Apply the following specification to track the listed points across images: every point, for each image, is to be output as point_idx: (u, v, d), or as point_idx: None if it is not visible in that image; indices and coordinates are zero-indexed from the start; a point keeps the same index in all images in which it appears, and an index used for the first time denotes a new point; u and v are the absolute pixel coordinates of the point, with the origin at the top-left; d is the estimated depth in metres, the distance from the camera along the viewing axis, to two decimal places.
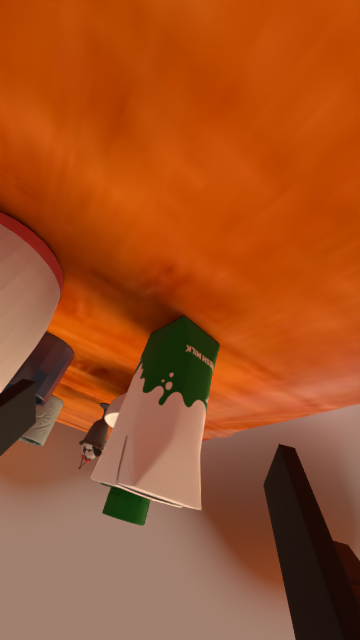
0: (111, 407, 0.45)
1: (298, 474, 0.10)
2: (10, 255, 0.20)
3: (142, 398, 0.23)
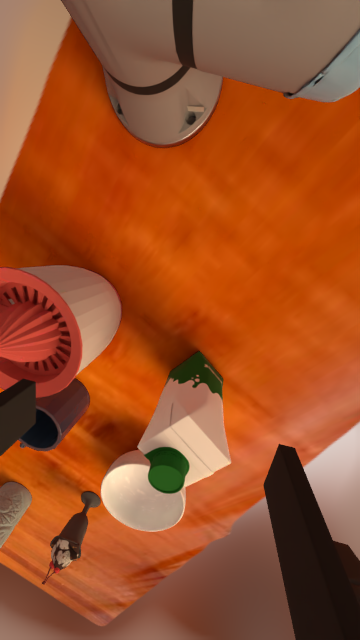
0: (114, 464, 0.45)
1: (298, 474, 0.10)
2: (110, 290, 0.36)
3: (180, 386, 0.32)
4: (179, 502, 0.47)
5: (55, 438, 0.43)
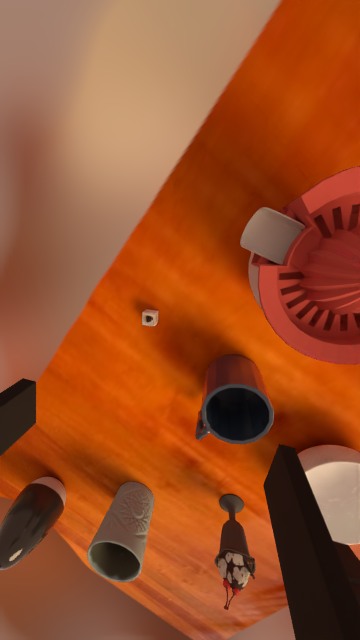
0: (306, 462, 0.37)
1: (298, 474, 0.10)
2: None
3: None
4: None
5: (245, 428, 0.35)
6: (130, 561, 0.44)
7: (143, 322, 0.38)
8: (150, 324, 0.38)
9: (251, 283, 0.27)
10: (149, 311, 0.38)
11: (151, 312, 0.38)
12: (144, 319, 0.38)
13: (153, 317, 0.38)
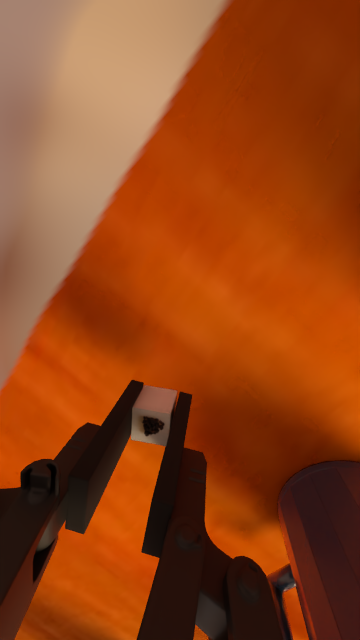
0: None
1: (184, 409, 0.13)
2: None
3: None
4: None
5: None
6: None
7: (135, 434, 0.13)
8: (156, 440, 0.13)
9: None
10: (152, 401, 0.13)
11: (158, 404, 0.13)
12: (138, 426, 0.13)
13: (165, 422, 0.13)
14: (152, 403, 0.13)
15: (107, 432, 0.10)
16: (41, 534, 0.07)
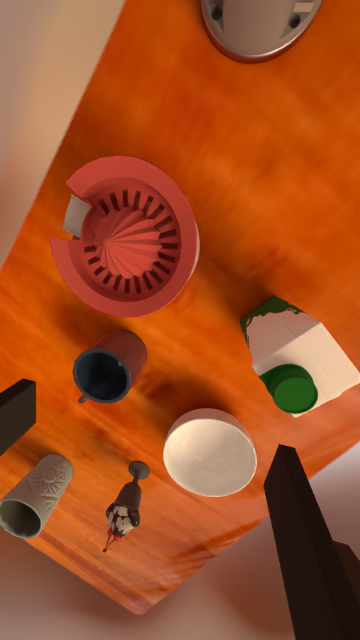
0: (178, 422, 0.42)
1: (299, 474, 0.10)
2: None
3: (279, 314, 0.29)
4: (245, 465, 0.44)
5: (118, 391, 0.40)
6: (39, 521, 0.49)
7: None
8: None
9: None
10: None
11: None
12: None
13: None
14: None
15: None
16: None
